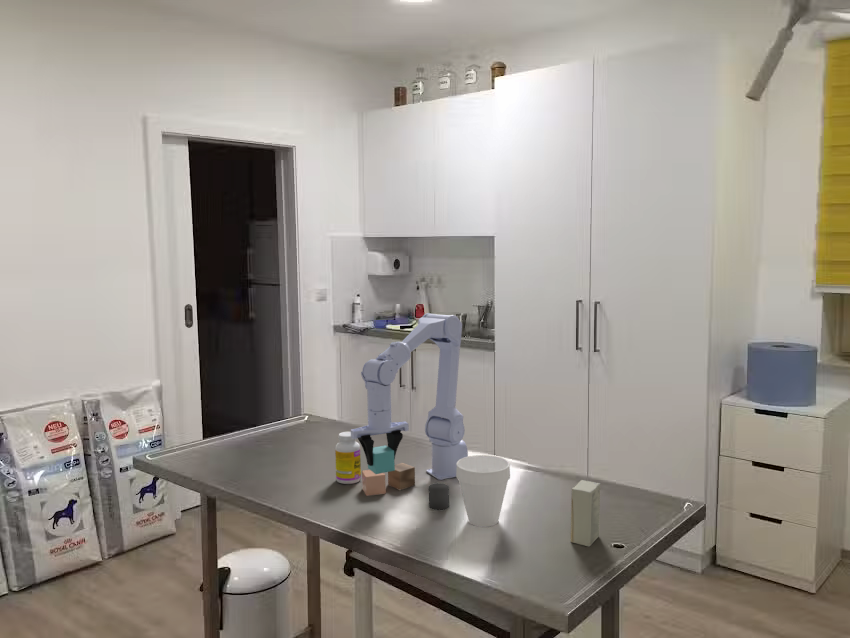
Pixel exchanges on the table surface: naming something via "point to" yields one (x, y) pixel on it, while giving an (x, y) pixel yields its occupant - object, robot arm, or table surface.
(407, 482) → the walnut cube
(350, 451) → the supplement bottle
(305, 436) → the table surface
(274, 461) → the table surface
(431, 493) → the dark grey cylinder
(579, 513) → the skincare box
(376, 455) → the teal cube
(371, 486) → the terracotta cube
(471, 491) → the cup
